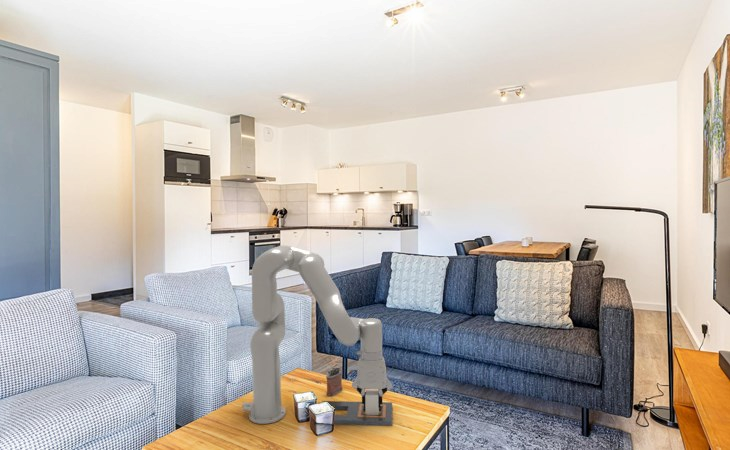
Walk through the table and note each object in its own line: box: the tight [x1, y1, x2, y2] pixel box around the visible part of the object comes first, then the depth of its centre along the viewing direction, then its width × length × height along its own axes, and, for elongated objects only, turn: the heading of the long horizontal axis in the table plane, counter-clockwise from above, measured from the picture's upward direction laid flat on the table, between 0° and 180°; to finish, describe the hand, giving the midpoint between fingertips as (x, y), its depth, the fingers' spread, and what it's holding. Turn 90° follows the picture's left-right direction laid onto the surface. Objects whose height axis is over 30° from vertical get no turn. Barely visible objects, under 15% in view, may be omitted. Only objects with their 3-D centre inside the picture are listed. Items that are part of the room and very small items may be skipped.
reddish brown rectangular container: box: [325, 365, 343, 397], centre depth 165 cm, size 8×3×10 cm, turn 144°
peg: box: [365, 389, 380, 416], centre depth 146 cm, size 4×4×7 cm
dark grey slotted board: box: [321, 400, 393, 427], centre depth 147 cm, size 26×14×2 cm, turn 86°
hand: (372, 405), depth 146 cm, fingers closed on peg, 4 cm apart
